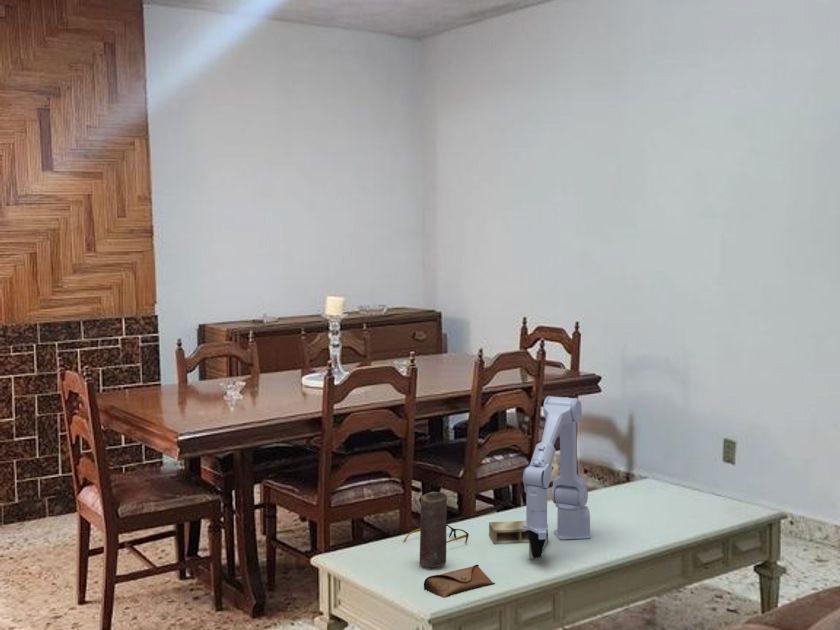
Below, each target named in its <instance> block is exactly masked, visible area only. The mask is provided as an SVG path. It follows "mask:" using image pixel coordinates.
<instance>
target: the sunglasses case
mask: <svg viewBox="0 0 840 630" xmlns="http://www.w3.org/2000/svg"><path fill="white" fill-rule="evenodd" d="M423 581H424V582H423V588H424V591H426V590H427V591H426V592H428V591H429V593H431V594H434V595H435V596H437V597H439V596H440V598H442V599H446V598H449V597H451V595H452V596H455V595H458V594H461V592H462V593H465V592H468V590H469V591H471V589H472V590H476V589H479V588H483V586H484V587H488V586H493V585H496V583H495V582H493V581H492V580H491V579H490V578H489V576H488V575H487V574H486V573H485V572H484V571H483V570H482V569H481V567H480V566H479V564H473V565H472V566H469V567H466V568H460V569H456V570H451V571H448V572H447V571H446V572H444V573H441V574H434V575H430V576H428V577H426V578H425V579H424V580H423ZM464 591H465V592H464ZM457 593H458V594H457ZM454 594H455V595H454Z"/></svg>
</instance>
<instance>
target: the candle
mask: <svg viewBox="0 0 840 630" xmlns="http://www.w3.org/2000/svg"><path fill="white" fill-rule="evenodd" d="M447 499H448V496H447V494H446V493H444V492H442V491H431V492H427V493H425V494H423V495H421V496H420V525H419V526H420V527H419V529H420V530H419V532H420V534H419V535H420V536H419V565H421V566H425V567H426V568H429V569H433V568H437V567H440V566H443V565H446V563H447V543H446V541H447V526H446V525H447V519H448V518H447V515H448V514H447V513H448V512H447V510H448V509H447V508H448V507H447V506H448V500H447Z"/></svg>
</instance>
